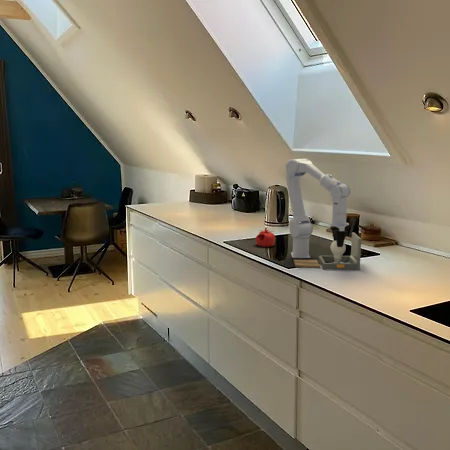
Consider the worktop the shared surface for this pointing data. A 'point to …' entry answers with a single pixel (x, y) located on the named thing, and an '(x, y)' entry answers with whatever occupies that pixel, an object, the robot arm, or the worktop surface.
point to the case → (345, 257)
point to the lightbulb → (337, 251)
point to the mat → (306, 264)
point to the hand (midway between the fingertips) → (338, 244)
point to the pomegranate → (265, 238)
